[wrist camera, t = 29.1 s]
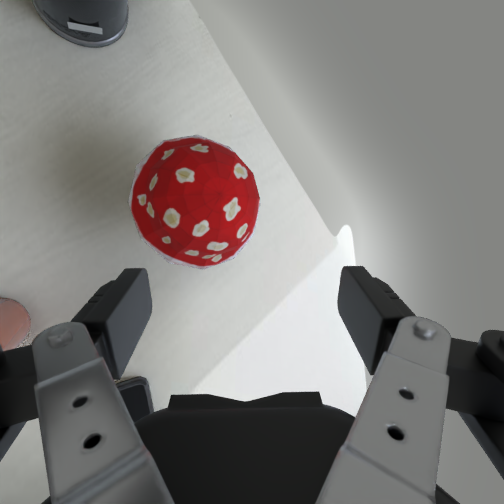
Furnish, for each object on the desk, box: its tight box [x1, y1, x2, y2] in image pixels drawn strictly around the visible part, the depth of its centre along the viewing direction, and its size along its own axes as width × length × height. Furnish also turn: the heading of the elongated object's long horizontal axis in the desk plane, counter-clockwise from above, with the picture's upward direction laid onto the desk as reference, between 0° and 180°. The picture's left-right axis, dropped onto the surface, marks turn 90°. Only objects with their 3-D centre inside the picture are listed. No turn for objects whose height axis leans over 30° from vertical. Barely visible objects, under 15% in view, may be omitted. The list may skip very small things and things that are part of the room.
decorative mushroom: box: [128, 135, 260, 269], centre depth 31 cm, size 14×14×15 cm
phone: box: [116, 377, 154, 423], centre depth 36 cm, size 8×1×15 cm
